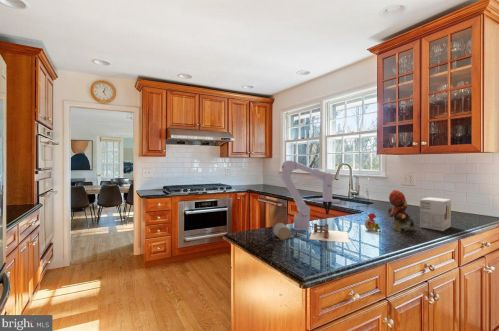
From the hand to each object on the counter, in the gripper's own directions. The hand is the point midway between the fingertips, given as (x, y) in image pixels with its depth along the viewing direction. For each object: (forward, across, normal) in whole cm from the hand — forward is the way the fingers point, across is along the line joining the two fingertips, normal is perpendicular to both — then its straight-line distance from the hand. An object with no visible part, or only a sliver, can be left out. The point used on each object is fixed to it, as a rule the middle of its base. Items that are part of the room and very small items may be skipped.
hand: (327, 214), depth 166 cm
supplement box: (+10, +66, +27) cm, 72 cm away
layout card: (+9, +2, -16) cm, 19 cm away
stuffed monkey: (+10, +44, +14) cm, 47 cm away
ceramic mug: (+10, -22, -27) cm, 36 cm away
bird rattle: (+10, +26, +5) cm, 28 cm away
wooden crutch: (+9, 0, -18) cm, 20 cm away
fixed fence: (+9, -3, -11) cm, 14 cm away
